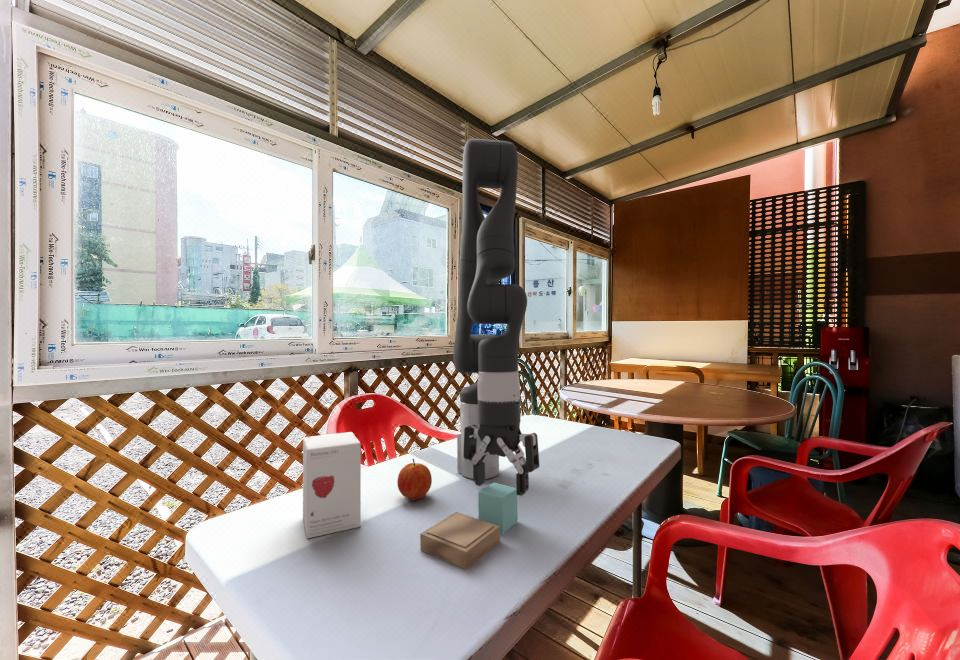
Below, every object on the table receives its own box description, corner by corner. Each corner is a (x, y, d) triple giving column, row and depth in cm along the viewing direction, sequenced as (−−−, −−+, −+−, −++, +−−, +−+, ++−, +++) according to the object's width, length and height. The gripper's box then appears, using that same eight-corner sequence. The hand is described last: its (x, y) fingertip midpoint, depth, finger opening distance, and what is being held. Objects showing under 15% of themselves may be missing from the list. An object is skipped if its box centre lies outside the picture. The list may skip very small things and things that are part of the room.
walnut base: (420, 549, 62) (420, 532, 62) (456, 526, 69) (456, 510, 69) (466, 569, 57) (466, 550, 57) (499, 541, 64) (499, 524, 64)
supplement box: (305, 540, 65) (304, 449, 65) (302, 517, 73) (301, 436, 73) (362, 527, 69) (361, 441, 69) (353, 507, 77) (352, 430, 77)
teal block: (478, 525, 70) (478, 491, 70) (494, 514, 74) (493, 482, 74) (502, 533, 67) (502, 498, 67) (517, 521, 71) (517, 488, 71)
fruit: (438, 497, 81) (438, 458, 81) (411, 508, 76) (411, 467, 76) (417, 488, 86) (417, 451, 86) (390, 498, 81) (390, 459, 81)
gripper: (454, 396, 71) (455, 487, 71) (524, 402, 63) (526, 505, 63) (477, 391, 77) (479, 475, 77) (544, 396, 69) (546, 490, 69)
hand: (500, 489), depth 70 cm, fingers open, 8 cm apart
